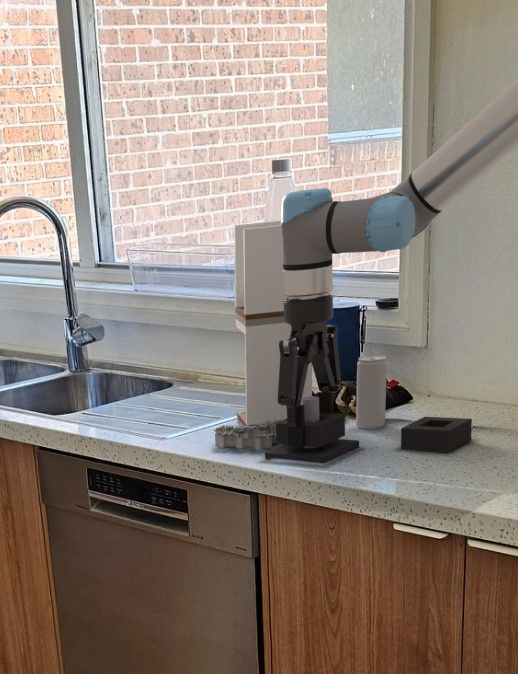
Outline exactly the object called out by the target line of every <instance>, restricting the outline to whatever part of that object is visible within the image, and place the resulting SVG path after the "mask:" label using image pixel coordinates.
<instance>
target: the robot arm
mask: <svg viewBox="0 0 518 674" xmlns="http://www.w3.org/2000/svg"><path fill="white" fill-rule="evenodd" d="M517 149H518V78H517V79H516V80H514V81H513V82H512V83H511V84H510V85H508V87H506V88H505V90H503V91H502V92H501V93H500V94H498V96H496V98H494V99H493V100H492V101H490V102H489V104H487V106H485V107H484V108H483V109H482V110H480V111H479V112H478V113H477V114H476V115H475V116H473V118H471V120H469V121H468V122H467V123H466V124H465V125H464V126H462V127H461V128H460V129H459V131H457V132H456V133H455V134H454V135H452V136H451V137H450V138H449V139H448V140H447V141H445V143H444V144H442V145H441V146H440V147H439V148H438V149H437V150H435V152H433V153H432V154H431V155H430V156H429V157H428V158H426V160H424V161H423V162H422V163H421V164H420V165H419V166H417V168H415V169H414V170H413V171H412V172H411V173H410V174H408V176H407V177H405V178H404V179H403V180H402V181H400V183H398V184H397V185H396V186H395V187H394V188H392V189H391V190H390V191H389V192H385V193H383V194H382V193H381V194H379V195H376V196H372V197H368V198H360V199H352V200H344V201H341V200H340V201H339V200H338V201H337V200H334V199H333V196H332V191H331V189H329V188H325V187H324V188H312V189H311V188H309V189H303V190H295V191H292V192H289V193H286V194H285V195H284V196H283V197H282V200H281V211H280V212H281V215H280V220H281V224H280V227H281V232H282V253H283V287H284V295H285V296H288V298H286V299H285V301H284V321H285V322H286V323H287V324H290V325H291V333H290V338H289V339H287V340H280V342H279V349H280V369H279V386H278V404H280V405H284V406H286V407H287V424H288V445H295V446H304V445H305V411H304V405H301V400H302V395H303V390H304V385H305V380H306V374H307V369H308V365H309V364H310V363H311V362H312V371H313V373H314V376H315V381H316V383H317V384H316V385H317V386H318V391H317V392H315V396H317V397H319V413H328V414H334V393H336V392H337V393H338V392H339V391H340V389H341V384H342V375H341V364H340V355H339V345H338V332H339V328H338V327H339V326H338V325H336V324H331V325H330V324H327V321H330V320H331V319H333V317H334V296H333V295H332V294H331V293H330V292H332V291H333V290H334V276H333V275H334V274H333V272H334V271H333V255H339V254H350V253H351V254H353V253H371V252H379V253H386V252H390V251H395V250H396V251H397V250H402V249H405V248H407V247H408V246H409V244H410V243H411V240H412V239H413V238H415V237H416V236H418V235H419V234H421V233H422V232H423V231H425V230H426V229H427V228H428V227H429V225H430V224H431V223H432V222H433V219H435V218H436V217H437V216H438V215H439V214H440V213H442V212H443V211H444V210H445V209H446V208H447V207H449V206H450V205H451V204H452V203H453V202H454V201H456V200H457V199H458V198H459V197H461V195H464V193H465V192H467V191H468V190H469V189H470V188H472V186H474V185H475V184H476V183H477V182H478V181H479V180H481V179H482V178H483V177H485V175H487V174H488V173H489V172H491V170H493V169H494V168H495V167H496V166H498V165H499V164H500V163H501V162H502V161H504V160H505V159H506V158H507V157H508V156H509V155H511V154H512V153H513V152H514V151H516V150H517ZM298 356H299V357H298ZM284 396H285V397H284Z"/></svg>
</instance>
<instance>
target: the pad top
mask: <svg viewBox="0 0 518 674" xmlns="http://www.w3.org/2000/svg"><path fill="white" fill-rule="evenodd" d="M472 429H473V419H472V418H464V417H463V418H462V417H461V418H460V417H442V416H441V417H439V416H423V417H421V418H419V419H416V420H414V421H413V422H411V423H409V424H407V425H405V426H403V427H401V428H400V449H401V450H409V451H421V452H435V453H450V452H452V451H453V450H456V449H457V448H459V447H461V446H463V445H465V444H467V443H469V442H471V441H472V431H473V430H472Z"/></svg>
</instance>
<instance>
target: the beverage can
mask: <svg viewBox="0 0 518 674" xmlns="http://www.w3.org/2000/svg"><path fill="white" fill-rule="evenodd" d="M357 360H358V361H357V363H356V364H357V365H356V367H357V368H356V371H357V372H356V403H355V404H356V405H355V406H356V409H355V411H356V413H355V425H356V427H357V429H360V430H377V429H382V428H383V427H384V426H385V424H386V403H387V402H386V400H387V399H386V397H387V369H388V367H387V366H388V361H387V356H386V355H380V354H379V355H378V354H377V355H376V354H374V355H364V356H359V357H358V359H357Z"/></svg>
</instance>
